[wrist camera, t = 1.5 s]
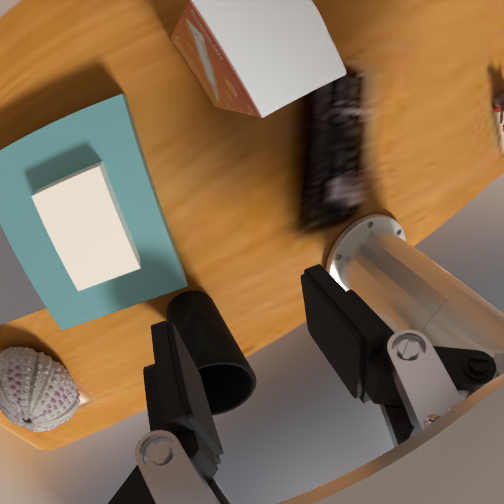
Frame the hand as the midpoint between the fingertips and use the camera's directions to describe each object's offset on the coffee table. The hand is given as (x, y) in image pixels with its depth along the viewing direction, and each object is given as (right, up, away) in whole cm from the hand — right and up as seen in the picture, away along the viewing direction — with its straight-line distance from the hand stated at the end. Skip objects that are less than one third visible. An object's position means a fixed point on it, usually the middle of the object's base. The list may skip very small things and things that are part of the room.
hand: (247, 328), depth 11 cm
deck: (-15, +6, +16) cm, 23 cm away
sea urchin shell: (-29, -13, +23) cm, 39 cm away
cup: (-7, -4, +25) cm, 26 cm away
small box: (-3, +20, +14) cm, 25 cm away
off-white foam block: (-13, +5, +13) cm, 19 cm away
